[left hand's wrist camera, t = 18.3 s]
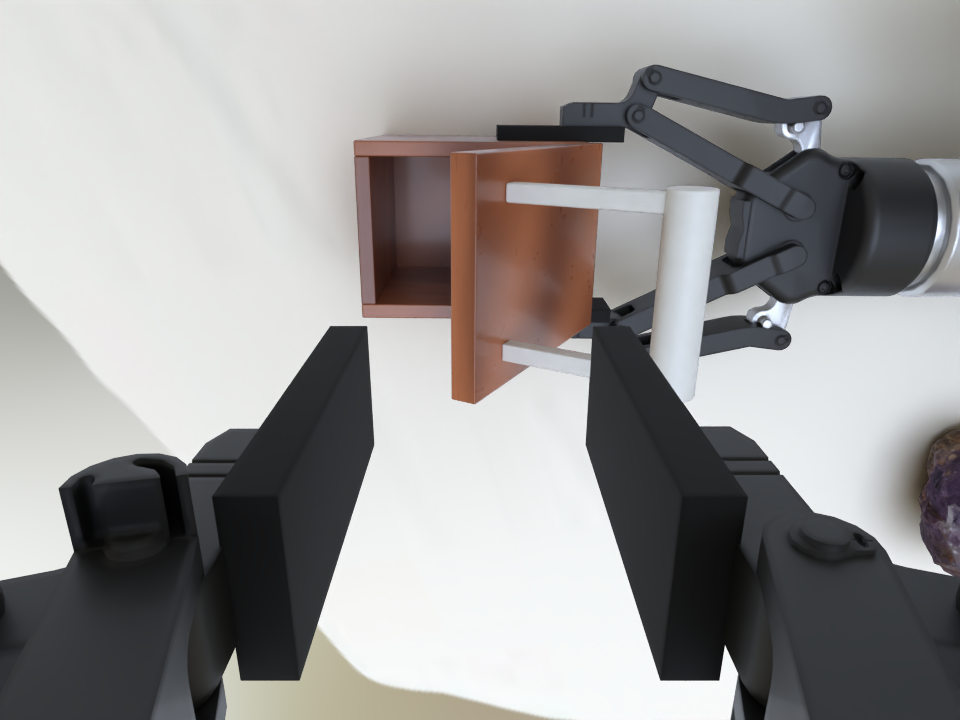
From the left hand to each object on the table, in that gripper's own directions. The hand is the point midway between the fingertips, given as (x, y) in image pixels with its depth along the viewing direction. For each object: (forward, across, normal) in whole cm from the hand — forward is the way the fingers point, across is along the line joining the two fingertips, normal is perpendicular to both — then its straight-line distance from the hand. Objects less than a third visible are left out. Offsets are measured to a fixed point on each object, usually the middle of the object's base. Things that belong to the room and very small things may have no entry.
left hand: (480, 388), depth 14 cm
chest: (+32, 0, 0) cm, 32 cm away
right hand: (+25, +1, 0) cm, 25 cm away
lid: (+16, +2, 0) cm, 16 cm away
